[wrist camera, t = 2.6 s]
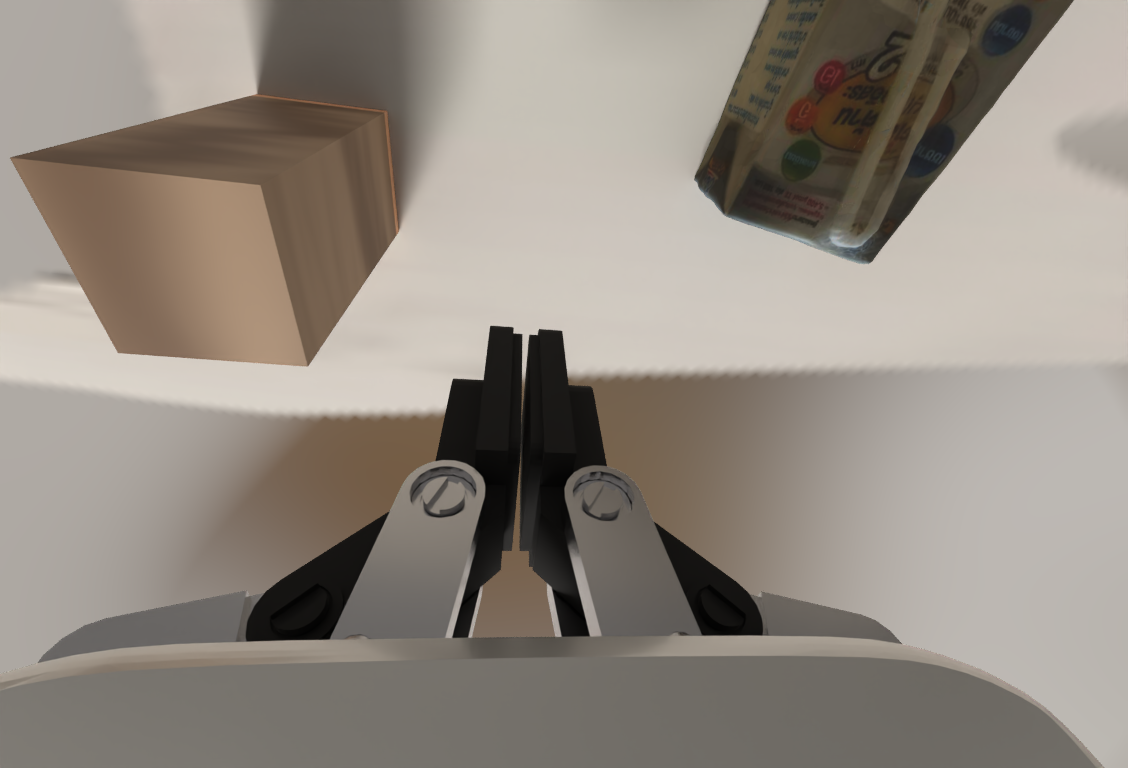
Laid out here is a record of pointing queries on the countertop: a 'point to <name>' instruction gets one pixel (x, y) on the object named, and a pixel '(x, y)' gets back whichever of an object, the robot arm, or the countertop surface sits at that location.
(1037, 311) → the countertop surface
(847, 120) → the beverage carton
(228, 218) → the wooden block
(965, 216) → the countertop surface
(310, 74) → the countertop surface
